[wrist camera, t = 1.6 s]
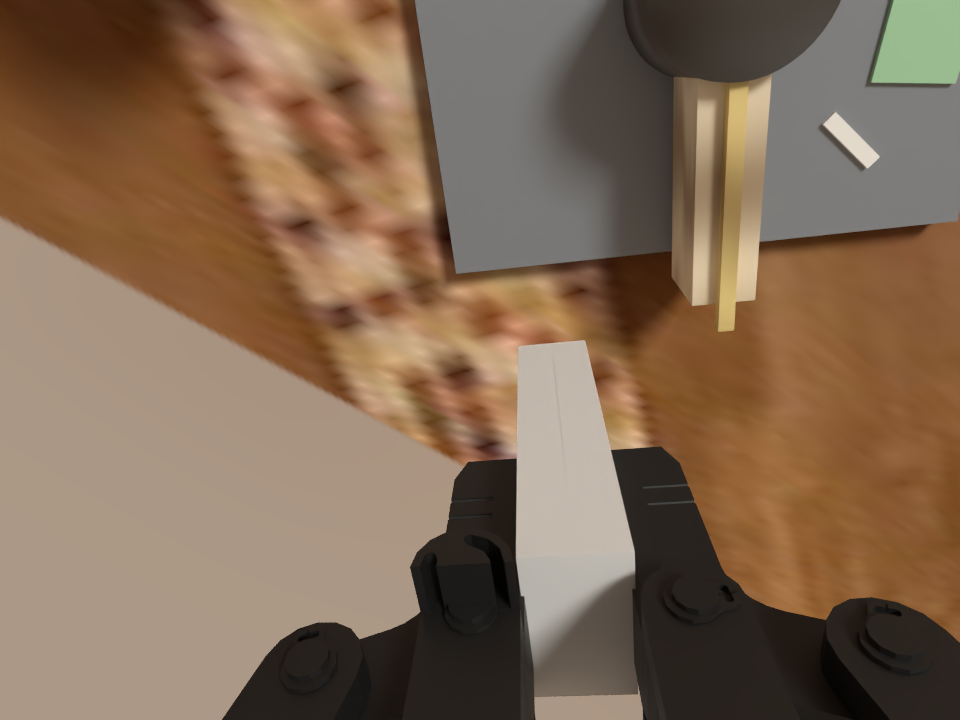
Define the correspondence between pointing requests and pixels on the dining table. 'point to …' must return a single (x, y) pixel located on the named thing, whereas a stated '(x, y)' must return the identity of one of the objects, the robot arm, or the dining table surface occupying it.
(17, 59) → the dining table surface
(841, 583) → the dining table surface
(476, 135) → the gauge board
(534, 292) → the dining table surface
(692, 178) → the dial lever
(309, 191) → the dining table surface
